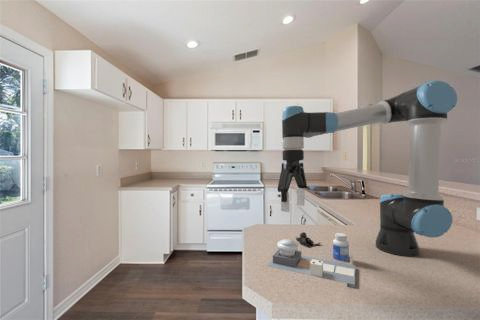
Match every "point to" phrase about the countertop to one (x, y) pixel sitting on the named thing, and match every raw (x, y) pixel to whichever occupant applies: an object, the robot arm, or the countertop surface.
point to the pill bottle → (340, 247)
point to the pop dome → (287, 247)
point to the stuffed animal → (306, 240)
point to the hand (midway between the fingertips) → (293, 208)
